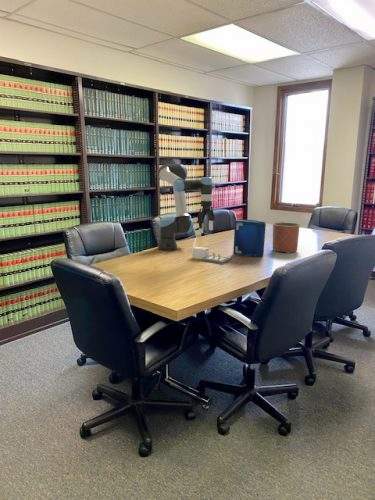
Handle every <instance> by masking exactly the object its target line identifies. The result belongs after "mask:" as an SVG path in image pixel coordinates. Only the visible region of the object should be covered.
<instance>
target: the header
mask: <svg viewBox="0 0 375 500" xmlns="http://www.w3.org/2000/svg"><path fill="white" fill-rule="evenodd" d="M201 261H203V262H206V263H207V262H208V263H214V264H220V265H224V264H227V263H228V262H230V261H232V257H227V256H222V255H221V252H220V253H218V255H216V252H212V254H210V255H208V256H207V257H205V258H202V259H201Z"/></svg>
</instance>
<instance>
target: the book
mask: <svg viewBox="0 0 375 500" xmlns="http://www.w3.org/2000/svg"><path fill="white" fill-rule="evenodd" d="M266 227H267V225H266V222H265V221H259V220H254V219H238V218H237V219H235V220H234V230H233V231H234V235H233V251H232V254H233V255H236V256H240V257H241V256H242V257H261V258H262V257H263V256H264V253H265V252H264V251H265V242H266V241H265V237H266Z"/></svg>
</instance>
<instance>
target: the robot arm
mask: <svg viewBox="0 0 375 500" xmlns="http://www.w3.org/2000/svg"><path fill="white" fill-rule="evenodd" d="M156 174H157V177H158V179H160V180H161V181H163V182H167V183H168V184H169V185H171V186H172V189H173V196H174V197H173V198H174V204H175V205H174V206H175V212H176V213H175V216H174V217H173V216H172V217H164V218H162V219H160V220H159V225H158V226H159V239H158V240H159V241H158V243H157V249H158V250H159V251H174V250H177V249H178V244H177V241H176V236H175V235H181V234H182V235H183V234H184V235H185V234H189V233H191V232H192V231H193V229H194V219H193V218H192V217H190V214H189V213H188V208H187V199H186V192H200V206H201V208H199V214H198V217H197V224H198V231H199V232H198V233H199V234H204V221H205V218H206V216H207V217H208V219H209V221H208V230H209V231H213V230H214V222H215V214H214V213H215V212H214V209H213V207H214V206H212V205H213V178H212V177H211V176H205V177H204V176H202V177H200V179H187V178H188V170H187V167H186V166H185V165H184V164H180V163H176V164H174V163H172V164H171V163H169V164H162V165H161V166H159V167H158V169H157V171H156Z"/></svg>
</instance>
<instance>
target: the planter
mask: <svg viewBox="0 0 375 500" xmlns="http://www.w3.org/2000/svg"><path fill="white" fill-rule="evenodd" d="M299 235H300V223H297V222H289V221H282V222H281V221H279V222H273V223H272V251H277V252H283V253H286V254H290V253H294V252H296V251H297V250H298V244H299Z"/></svg>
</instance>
